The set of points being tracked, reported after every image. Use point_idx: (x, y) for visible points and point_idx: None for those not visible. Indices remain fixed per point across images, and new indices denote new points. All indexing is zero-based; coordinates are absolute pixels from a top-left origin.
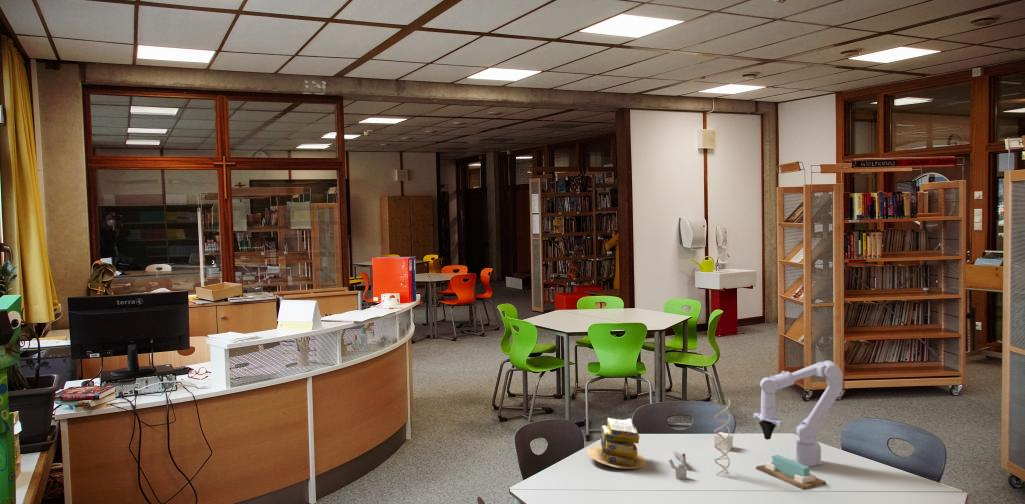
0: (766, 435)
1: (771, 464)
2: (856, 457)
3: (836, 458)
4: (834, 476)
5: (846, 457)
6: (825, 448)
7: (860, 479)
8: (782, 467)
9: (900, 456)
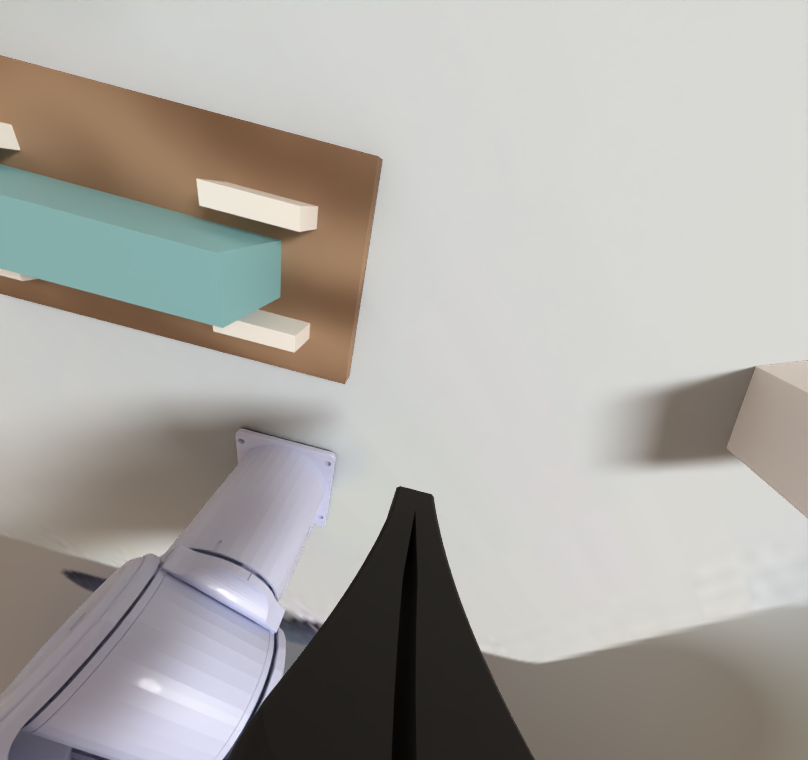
0: (389, 524)
1: (240, 205)
2: None
3: None
4: (104, 412)
5: None
6: None
7: (55, 447)
8: (145, 213)
9: None
